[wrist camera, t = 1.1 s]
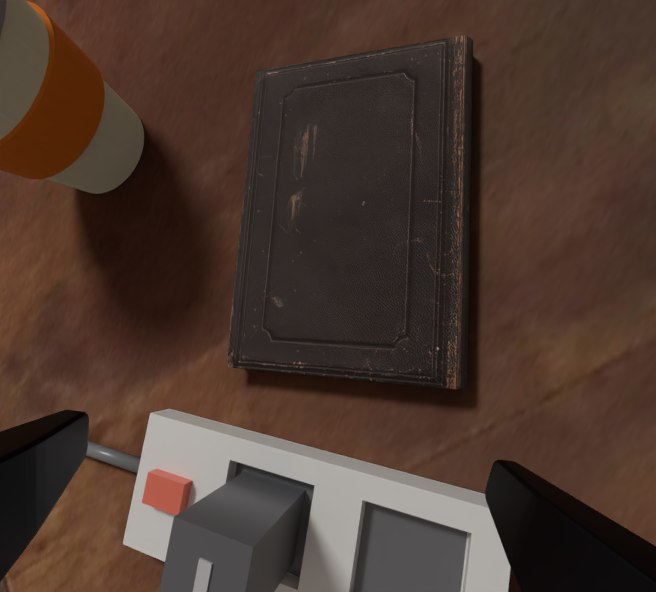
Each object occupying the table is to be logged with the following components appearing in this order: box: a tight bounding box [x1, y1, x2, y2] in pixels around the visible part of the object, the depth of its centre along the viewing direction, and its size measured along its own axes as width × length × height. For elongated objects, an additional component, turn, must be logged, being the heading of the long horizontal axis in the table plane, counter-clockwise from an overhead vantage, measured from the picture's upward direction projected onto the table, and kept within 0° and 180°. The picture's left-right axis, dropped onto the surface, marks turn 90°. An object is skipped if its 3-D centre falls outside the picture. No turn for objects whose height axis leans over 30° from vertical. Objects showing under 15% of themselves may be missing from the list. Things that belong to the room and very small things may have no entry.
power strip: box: [86, 409, 511, 592], centre depth 24 cm, size 9×34×3 cm, turn 80°
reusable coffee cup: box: [0, 0, 144, 194], centre depth 27 cm, size 13×13×15 cm
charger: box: [159, 471, 305, 592], centre depth 20 cm, size 4×4×7 cm
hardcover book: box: [226, 36, 473, 390], centre depth 25 cm, size 16×23×2 cm
